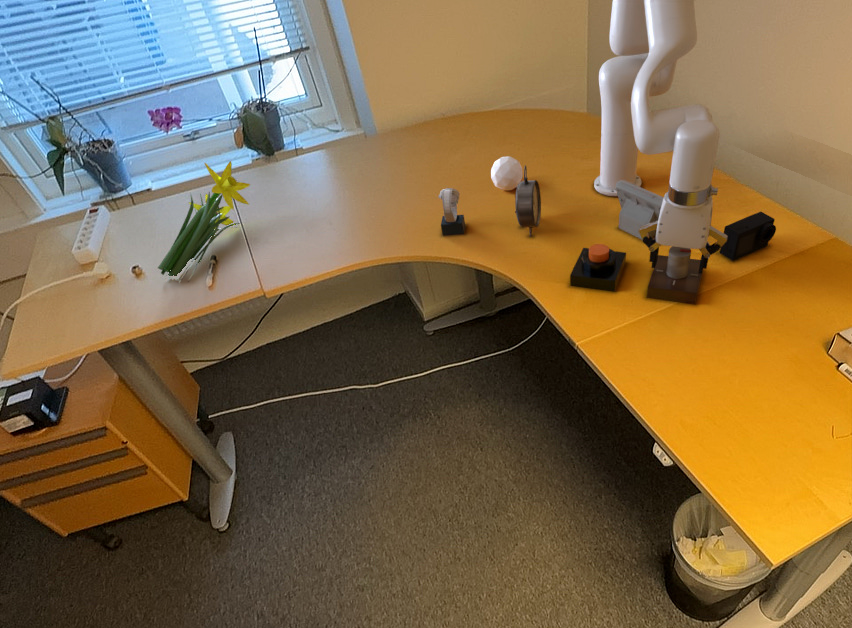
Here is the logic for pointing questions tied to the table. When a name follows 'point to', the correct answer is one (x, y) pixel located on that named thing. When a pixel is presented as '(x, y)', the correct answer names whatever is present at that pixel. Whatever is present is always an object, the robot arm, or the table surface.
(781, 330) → the table surface
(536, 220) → the alarm clock
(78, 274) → the table surface
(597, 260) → the button
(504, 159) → the white faceted rounded piece
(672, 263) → the dial
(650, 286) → the dial panel
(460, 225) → the watch
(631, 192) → the digital clock
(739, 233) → the digital camera
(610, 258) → the button box
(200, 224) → the daffodil flowers
